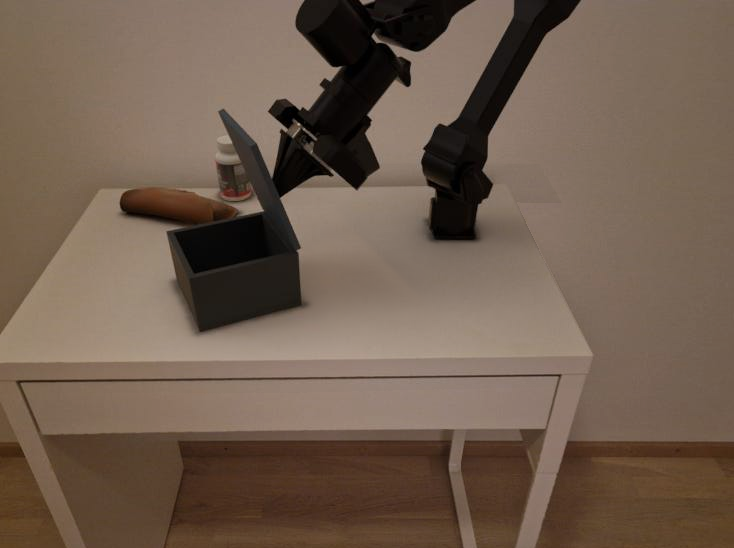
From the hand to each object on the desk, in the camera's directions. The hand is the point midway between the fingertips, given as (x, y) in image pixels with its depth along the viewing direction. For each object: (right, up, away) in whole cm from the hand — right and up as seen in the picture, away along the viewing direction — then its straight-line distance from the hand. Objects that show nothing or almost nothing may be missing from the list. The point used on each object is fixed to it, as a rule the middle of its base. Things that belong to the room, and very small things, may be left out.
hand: (272, 197), depth 73 cm
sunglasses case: (-18, +4, +25) cm, 31 cm away
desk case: (-5, -11, +6) cm, 14 cm away
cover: (-2, +1, -2) cm, 3 cm away
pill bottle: (-9, +8, +30) cm, 32 cm away
